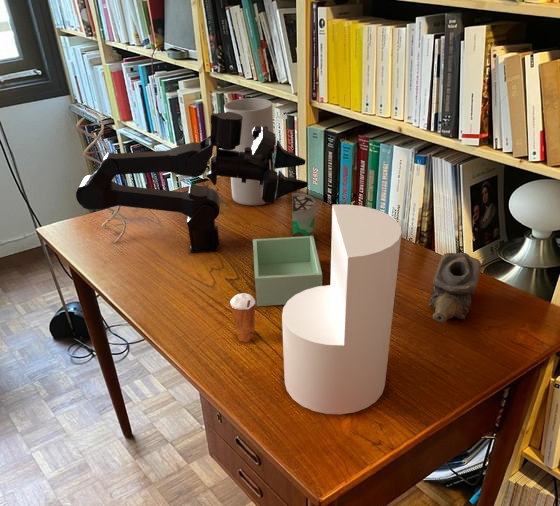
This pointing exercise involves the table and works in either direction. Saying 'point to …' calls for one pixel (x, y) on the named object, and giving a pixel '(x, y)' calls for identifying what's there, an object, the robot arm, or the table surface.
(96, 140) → the dna model
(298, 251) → the light green open box
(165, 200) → the robot arm
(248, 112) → the cylinder vase
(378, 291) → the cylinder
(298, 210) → the food container
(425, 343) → the table surface
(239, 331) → the milkshake
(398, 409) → the table surface
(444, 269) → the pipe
